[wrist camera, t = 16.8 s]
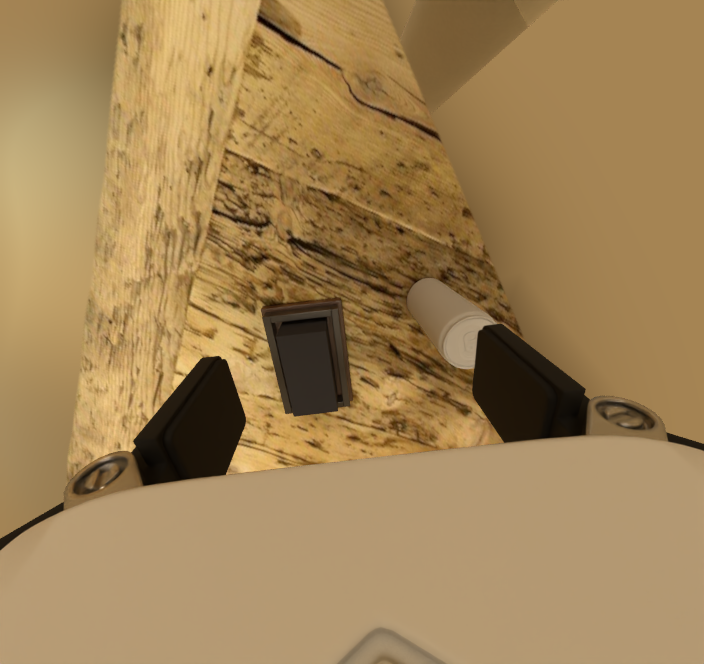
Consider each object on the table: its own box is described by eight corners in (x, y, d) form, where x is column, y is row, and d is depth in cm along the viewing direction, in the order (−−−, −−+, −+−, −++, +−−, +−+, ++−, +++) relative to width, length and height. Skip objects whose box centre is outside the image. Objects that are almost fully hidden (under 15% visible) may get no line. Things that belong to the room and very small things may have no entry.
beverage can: (409, 322, 34) (446, 377, 23) (400, 284, 32) (436, 325, 21) (449, 309, 34) (505, 360, 23) (442, 270, 32) (500, 305, 21)
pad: (281, 321, 32) (275, 336, 28) (326, 316, 32) (326, 330, 29) (297, 395, 36) (293, 416, 33) (337, 390, 36) (337, 411, 33)
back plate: (262, 306, 32) (257, 314, 30) (340, 297, 32) (341, 304, 30) (285, 404, 38) (282, 417, 36) (352, 396, 38) (353, 408, 36)
